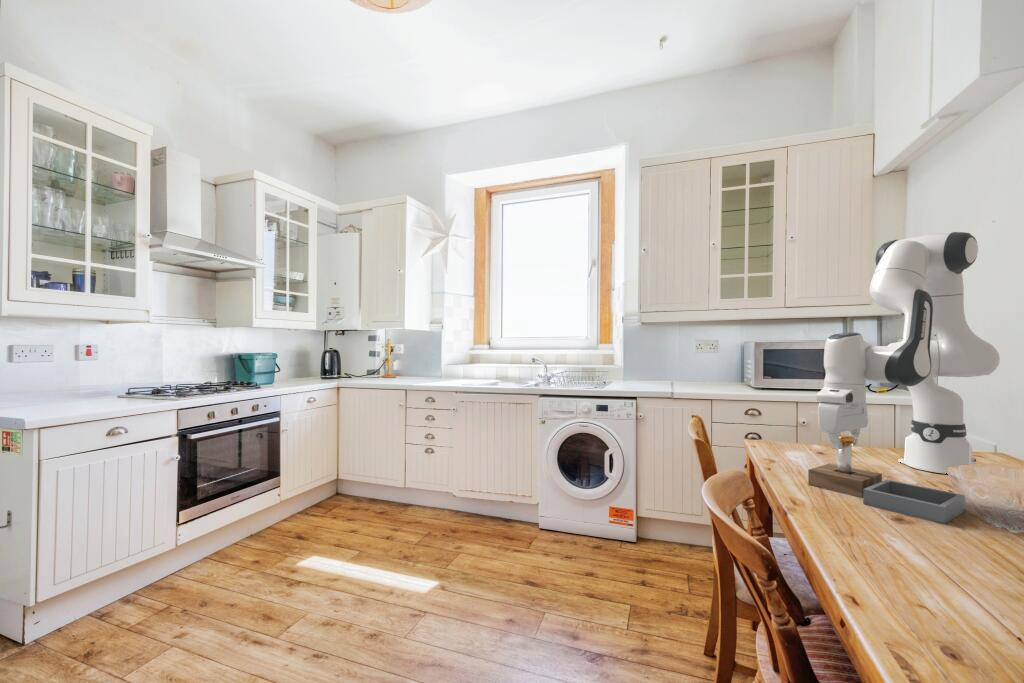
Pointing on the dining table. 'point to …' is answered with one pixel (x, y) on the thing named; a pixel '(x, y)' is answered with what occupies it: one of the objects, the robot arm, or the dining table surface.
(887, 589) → the dining table surface
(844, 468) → the clear capped tube
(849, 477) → the block
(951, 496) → the tray
